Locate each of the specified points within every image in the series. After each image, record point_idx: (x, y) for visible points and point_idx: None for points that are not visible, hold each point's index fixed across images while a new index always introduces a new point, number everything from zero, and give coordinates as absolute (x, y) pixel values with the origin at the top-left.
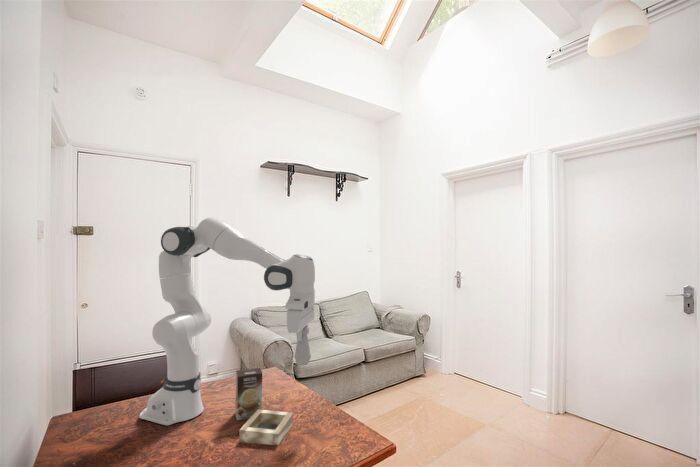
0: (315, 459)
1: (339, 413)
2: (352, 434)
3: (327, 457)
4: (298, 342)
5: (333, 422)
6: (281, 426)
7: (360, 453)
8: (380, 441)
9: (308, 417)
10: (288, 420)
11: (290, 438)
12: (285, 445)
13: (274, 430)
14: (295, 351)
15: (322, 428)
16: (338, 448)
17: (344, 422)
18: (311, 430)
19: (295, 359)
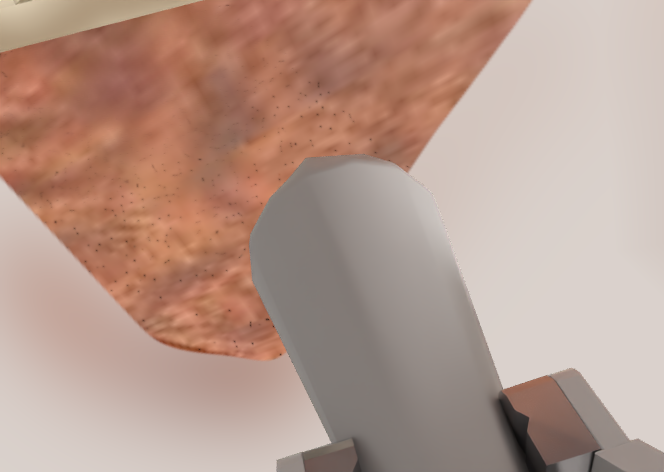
0: (62, 227)
1: (422, 144)
2: None
3: (103, 255)
4: (331, 396)
5: None
6: (72, 18)
7: (193, 325)
8: None
9: (336, 20)
10: (161, 9)
11: (116, 46)
12: (51, 58)
13: (9, 3)
14: (321, 232)
15: (272, 139)
16: (177, 260)
17: None
18: (233, 103)
19: (265, 207)
